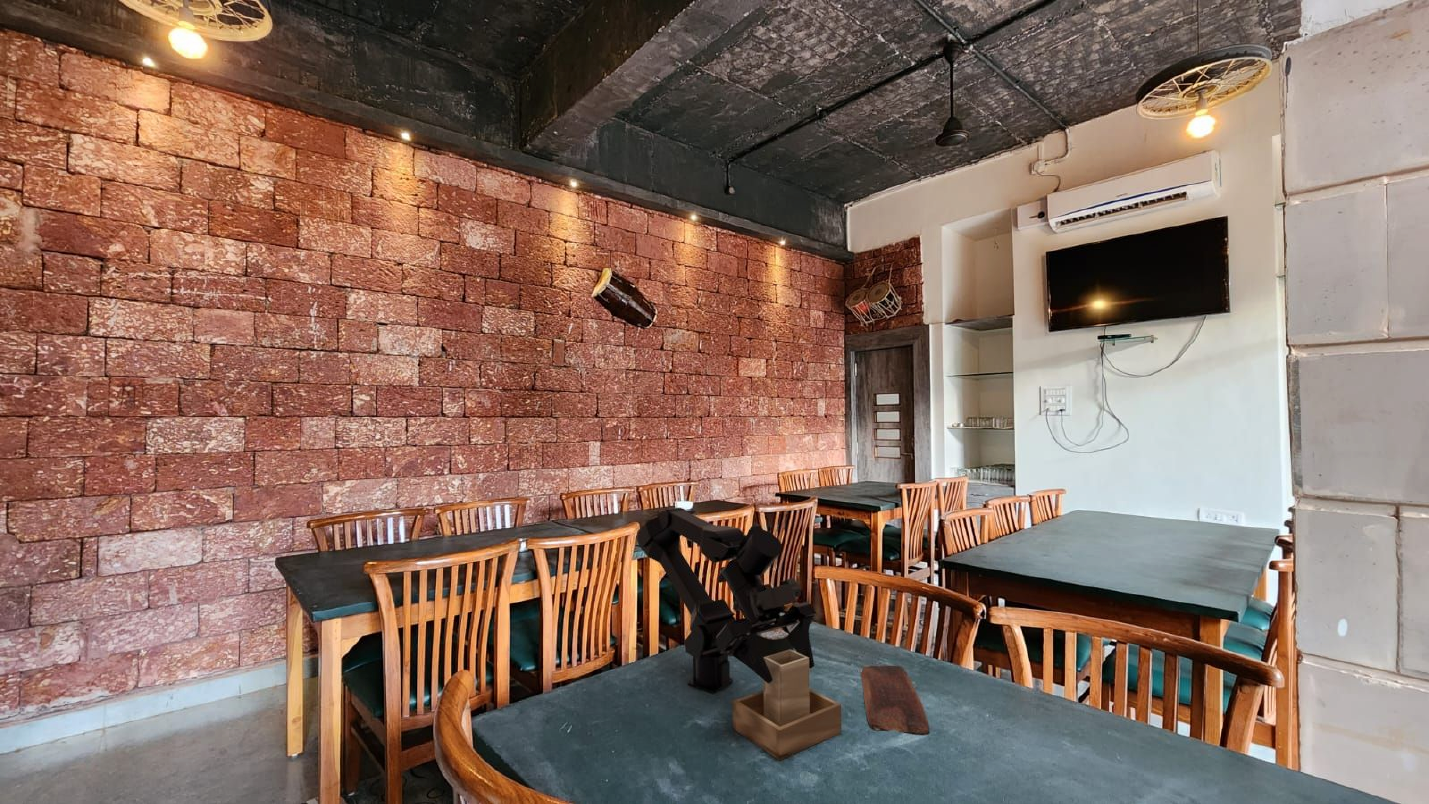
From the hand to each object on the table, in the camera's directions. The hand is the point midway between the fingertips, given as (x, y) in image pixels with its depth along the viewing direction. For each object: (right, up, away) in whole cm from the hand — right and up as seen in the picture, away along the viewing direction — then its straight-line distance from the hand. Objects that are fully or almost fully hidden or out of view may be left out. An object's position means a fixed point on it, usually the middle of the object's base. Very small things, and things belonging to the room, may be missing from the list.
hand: (792, 674), depth 95 cm
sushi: (0, -11, +27) cm, 29 cm away
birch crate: (-1, -9, +1) cm, 9 cm away
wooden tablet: (+20, -11, +13) cm, 26 cm away
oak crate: (-1, -10, +1) cm, 10 cm away
